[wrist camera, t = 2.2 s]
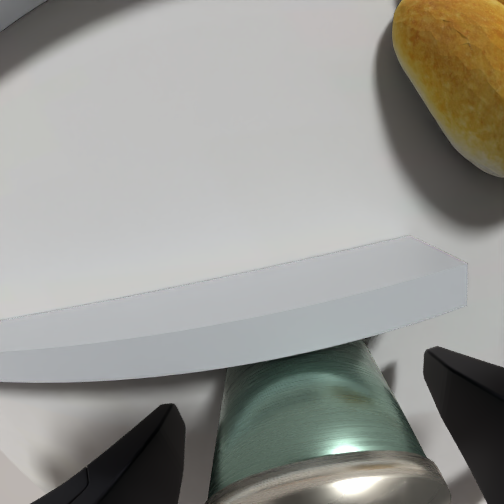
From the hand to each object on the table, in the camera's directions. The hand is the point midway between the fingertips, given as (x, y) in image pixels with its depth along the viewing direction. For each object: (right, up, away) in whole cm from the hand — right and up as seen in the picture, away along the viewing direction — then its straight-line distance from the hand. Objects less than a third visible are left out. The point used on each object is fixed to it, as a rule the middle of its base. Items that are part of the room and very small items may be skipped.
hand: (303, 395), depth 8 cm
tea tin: (0, 0, +1) cm, 1 cm away
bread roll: (+7, +11, -1) cm, 13 cm away
